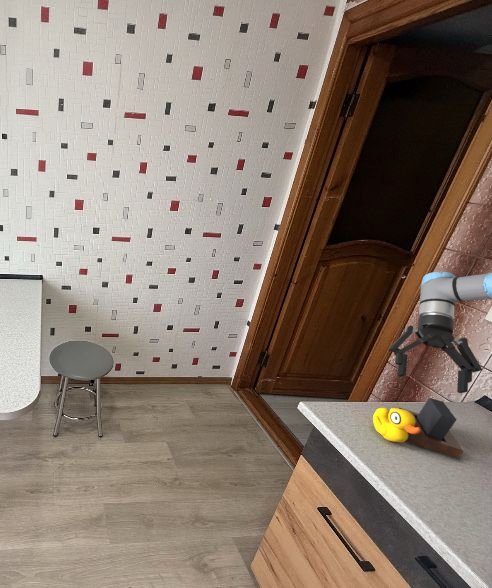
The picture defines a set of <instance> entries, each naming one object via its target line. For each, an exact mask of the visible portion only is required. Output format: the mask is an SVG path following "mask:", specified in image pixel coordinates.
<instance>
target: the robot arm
mask: <svg viewBox="0 0 492 588" xmlns="http://www.w3.org/2000/svg"><path fill="white" fill-rule="evenodd" d="M419 297H420V298H419V307H418V308H419V309H418V320H417V328H415V327H414V326H413V325H408V326H406V327H405V328H403V332H402V334H401V335H400V336H399V337H398V338H397V339H396V340H395V341H394V342H393V343H392V344H391V345H390V346H389V347H388V351H389V352H392V353H393V355H394V356H395V360H394V363H395V365H397V377H400V378H401V377H404V376H406V375H407V368H408V367H407V366H408V357H409V356H408V353H407V354H406V352H409V351H410V350H412V349H414V348H416V347H418V346H420V345H421V344H423V345H424V346H425V347H432V348H435V349H440V350H441V351H442V352H444V353H446V354H447V356H448V357H449V358H450V359H451V360H452V361H453V362H454V364H455V365H456V366H457V367H458V368H459V369H460V370H458V371H457V389H456V393H458V394H465V393H468V391H469V383H472V381H473V373H477V372H482V371H483V368H482V366H481V363H480V362H479V361H478V359H477V357H476V356H475V354H474V352H473V350H472V348H470V346H469V343H468V342H469V340H468V338H467V337H461V338H459V337H455V336H454V335H453V334H454V327H455V326H454V325H455V324H454V323H455V321H454V319H455V307H456V306H455V305H456V303H457V302H459V303H460V302H470V301H487V300H492V271H491V272H487V273H481V274H473V275H466V276H458V277H457V276H456V275H455V274H454V273H451V272H448V271H434V272H433V271H432V272H429V273H427V274H425V275H424V276H423V277H422V280H421V284H420V295H419ZM413 334H415V335H416V336H417V338H418V339H416V340H414V341H413V342H411V343H409V344H408V345H406V346H403V347H402V348H399V347H401V346H402V345H403V344H404V342H406V341H407V339H408V338H409V337H410V336H412V335H413ZM453 343H454V344H453ZM456 348H457V349H456Z"/></svg>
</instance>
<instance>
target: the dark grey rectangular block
mask: <svg viewBox="0 0 492 588" xmlns="http://www.w3.org/2000/svg"><path fill="white" fill-rule="evenodd" d="M416 420H417V421H418V423H419V425H420V427H421V428H422V430H423V432H424V433H425V435H426V436H428V437H431V438H435V439H438V440H441V441H442V440H443V438H444V437H445V435H446V434H447V433H448V431H449V430H450V431H451V429H452V427H453V426H454V424H455V423H456V422H457V418H456V417H455V416H454V414H453V413H452V411H451V410H450V409H449V407H448V405H446V403H445V402H444V401H442V400H438V399H435V398H432V397H428V398H427V401H426V402H425V404H424V405H423V407H422V408H421V410H420V411H419V413H418V416H417V417H416Z"/></svg>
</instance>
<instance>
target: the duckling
mask: <svg viewBox="0 0 492 588" xmlns="http://www.w3.org/2000/svg"><path fill="white" fill-rule="evenodd" d="M402 409H403V408H402ZM402 409H399V407H398V408H397V407H391V408H390V409H388V408H386V407H379V408H377V409H376V410H375V411H374V413H373V415H372V422H373V426H374V429H375V430H376V432H377V433H379V434H380V435H381V436H382V438H384V439H385V440H387V441H389V442H393V443H404V442H406V441H408V440H407V438H408V433H411V434H418V433H419V432H420V431H421V429H420V428H418V427H417V428H415V427H414V425H415V418H414V416H413V415H412V414H411V413H410V412H408V411H406V410H407V409H405V410H402Z"/></svg>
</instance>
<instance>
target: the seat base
mask: <svg viewBox="0 0 492 588" xmlns="http://www.w3.org/2000/svg"><path fill="white" fill-rule="evenodd" d="M398 409H402V410H406V411H408V412H410V413H411V414H412V415H413V416H414V418H415V425H414V427H415V428H417V427H418V428H420V429H421V431H420V432H419V433H418V434H411V433H408V438H407V440H406V441H407V442H408V443H410V444H413V445H416V446H418V447H421V448H424V449H427V450H430V451H434V452H437V453H439V454H442V455H445V456H448V457H451V458H454V459H456V460H458V459H459V457H460V456H461V455H462V454H463V452H464V449H463V447H462V446H461V444H460V443H459V441H458V440H457V439H456V437H455V436H454V435H453V433H452V432H451V429H450V430H449V431H448V433H447V434H446V435H445V437H444V438H443V440H442V441H441V440H438V439H435V438H431V437H428V436H426V435H425V433H424V432H423V430H422V428H421V427H420V425H419V423H418V421H417V420H416V417H417V416H418V414H419V413H418V412H414V411H411V410H409V409H406V408H401V407H398Z"/></svg>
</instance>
